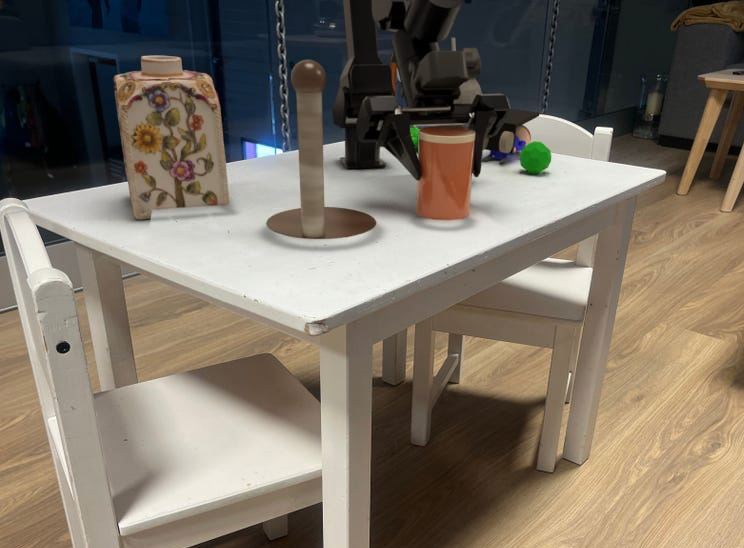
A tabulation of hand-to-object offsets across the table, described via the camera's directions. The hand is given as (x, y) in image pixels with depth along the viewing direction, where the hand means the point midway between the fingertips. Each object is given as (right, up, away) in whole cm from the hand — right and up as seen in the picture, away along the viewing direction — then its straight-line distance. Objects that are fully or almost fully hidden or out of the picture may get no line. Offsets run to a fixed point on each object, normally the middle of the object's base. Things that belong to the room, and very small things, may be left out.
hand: (448, 177), depth 87 cm
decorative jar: (-35, -2, +7) cm, 36 cm away
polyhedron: (+16, +8, +29) cm, 34 cm away
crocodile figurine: (-1, +15, +42) cm, 44 cm away
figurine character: (+12, +13, +39) cm, 43 cm away
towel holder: (-15, -7, -1) cm, 17 cm away
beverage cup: (+2, +5, +22) cm, 23 cm away
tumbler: (-1, -5, +4) cm, 6 cm away
